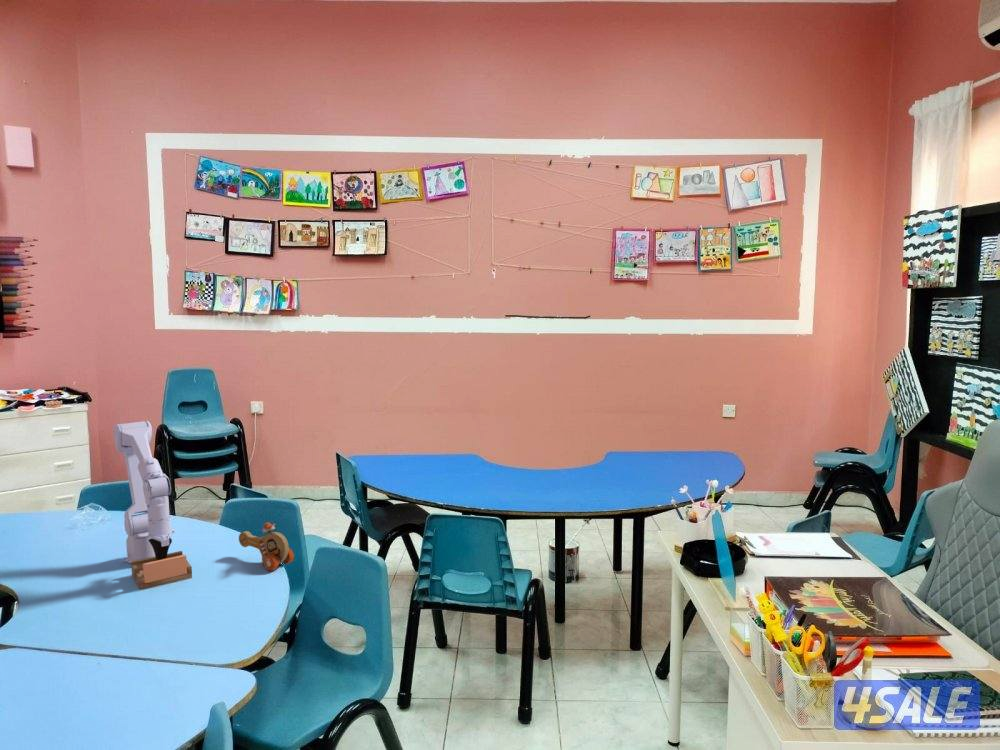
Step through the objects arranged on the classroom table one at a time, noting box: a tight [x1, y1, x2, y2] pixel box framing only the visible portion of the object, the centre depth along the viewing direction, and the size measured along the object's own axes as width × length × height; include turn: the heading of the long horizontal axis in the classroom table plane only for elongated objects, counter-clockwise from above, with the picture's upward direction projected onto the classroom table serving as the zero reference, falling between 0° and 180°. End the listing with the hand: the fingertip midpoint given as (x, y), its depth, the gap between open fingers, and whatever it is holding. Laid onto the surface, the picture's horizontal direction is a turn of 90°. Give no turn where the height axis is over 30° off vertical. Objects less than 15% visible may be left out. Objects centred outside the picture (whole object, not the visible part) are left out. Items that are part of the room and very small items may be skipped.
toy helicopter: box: [238, 522, 295, 572], centre depth 216 cm, size 8×21×14 cm, turn 60°
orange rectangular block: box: [143, 554, 188, 583], centre depth 201 cm, size 1×11×6 cm, turn 128°
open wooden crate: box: [130, 550, 193, 591], centre depth 205 cm, size 12×14×4 cm
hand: (161, 562), depth 204 cm, fingers closed
